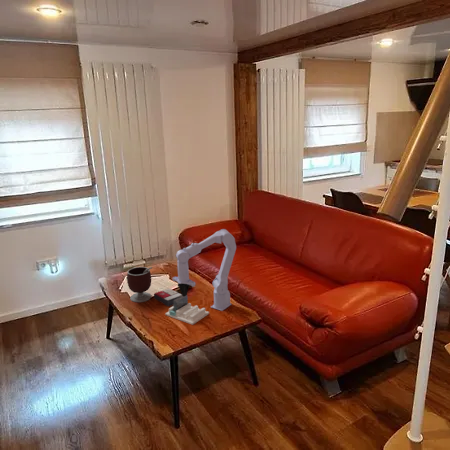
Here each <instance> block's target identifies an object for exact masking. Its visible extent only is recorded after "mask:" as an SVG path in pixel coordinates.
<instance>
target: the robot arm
mask: <svg viewBox="0 0 450 450" xmlns="http://www.w3.org/2000/svg"><path fill="white" fill-rule="evenodd" d="M214 243H216V244H221V245H222V243H223V245H224V246H225V251H224V253H223V254H224V255H223V258H222V261H221V265H220V267H219V268H220V269H219V271H218V274H216V275H215V278H214V279H213V281H212V286H213V288H214V289H213V304H212V305H210V308H212V309H215V310H218V311H221V312H223V311H224V310H226V309H227V308H229V307H230V306H232V303H231V293H230V291H229V290H228V289H229V288H228V287H229V286H228V283H229V280H228V279H229V278H228V277H229V274H230V270H231V267H232V265H233V261H234V257H235V254H236V250H237V244H236V238H235V237H234V236H233V234H232V233H230V232H229V230H227V229H226V228H222V229H220V230H217V231H216V232H214V233H213V234H212V235H210V236H208V237H207V238H205V239H203V240H202V241H200V242H199V243H197V242H192V243H191V244H190V245H188V246H187V247H183V248H182V249H179V250H178V251H176V254H175V257H176V259H177V261H176V262H177V276H173V277H172V281H173V282H177V287H178V288H179V290H180V294H182V296H186V295H187V296H188V291H189V289H190V286H191V287H192V288H193V287H195V286H196V281H193V280H192V279H191V278H190V274H189V273H190V270H189V260H190V259H191V258H193V257H195V256H196V255H198V254H199V253H201V252H202V250H203V249H205V248H207V247H209V246H211V245H213V244H214Z"/></svg>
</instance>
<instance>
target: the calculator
mask: <svg viewBox="0 0 450 450" xmlns="http://www.w3.org/2000/svg"><path fill="white" fill-rule="evenodd" d="M180 296H182V293H179V292H178V291H175V290H173V289H171V288H165V289H163V290H160V291H157V292H154V293H153V299H155V300H156V301H158V302H160V303H162V304H163V305H165V306H166V307H172V306H173V300H175V299H177V298H179V297H180Z"/></svg>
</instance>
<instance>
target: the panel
mask: <svg viewBox="0 0 450 450" xmlns="http://www.w3.org/2000/svg"><path fill="white" fill-rule="evenodd" d="M188 299H189V298H188V294H187V295H186V296H180V297H179V298H177V299H175V300H173V305H172V306H173V309H174V312H175V313H176V311H177V310H178V309H180V308H182V307H183V306H185V305H187V304H188V302H189V300H188Z"/></svg>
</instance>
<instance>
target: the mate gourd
mask: <svg viewBox="0 0 450 450" xmlns="http://www.w3.org/2000/svg"><path fill="white" fill-rule="evenodd" d="M151 269H153V267H146V266H137V267H132V268H130V269H128V270H127V271H126V272H127V273H126V281H127V282H126V283H127V286H128V289H129V290H130V291H131V292H133V294H131V295H130V297H129V298H130V301H131V302H133V303H144V302H147V301H149V300H151V299H152V294H151V293H149V292H147V291H148V290H150V287H151V285H152V274H151Z"/></svg>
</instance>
